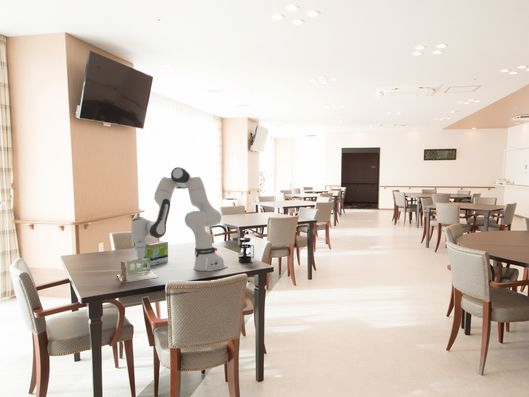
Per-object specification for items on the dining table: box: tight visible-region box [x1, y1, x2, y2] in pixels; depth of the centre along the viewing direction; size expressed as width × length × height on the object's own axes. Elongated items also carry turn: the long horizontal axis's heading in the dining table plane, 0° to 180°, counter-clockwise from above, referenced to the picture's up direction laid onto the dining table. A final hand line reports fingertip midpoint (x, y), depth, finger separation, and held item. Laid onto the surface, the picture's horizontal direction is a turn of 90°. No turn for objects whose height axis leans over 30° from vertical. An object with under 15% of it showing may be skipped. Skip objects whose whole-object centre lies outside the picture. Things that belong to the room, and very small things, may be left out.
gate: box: [126, 258, 152, 274], centre depth 236 cm, size 14×2×8 cm, turn 120°
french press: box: [238, 229, 255, 264], centre depth 265 cm, size 12×9×23 cm
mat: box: [116, 270, 159, 283], centre depth 229 cm, size 21×19×1 cm
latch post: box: [119, 265, 130, 284], centre depth 218 cm, size 4×4×9 cm
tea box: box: [143, 240, 169, 266], centre depth 265 cm, size 15×10×15 cm
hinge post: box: [118, 260, 127, 276], centre depth 231 cm, size 4×4×9 cm
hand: (139, 263), depth 241 cm, fingers closed
